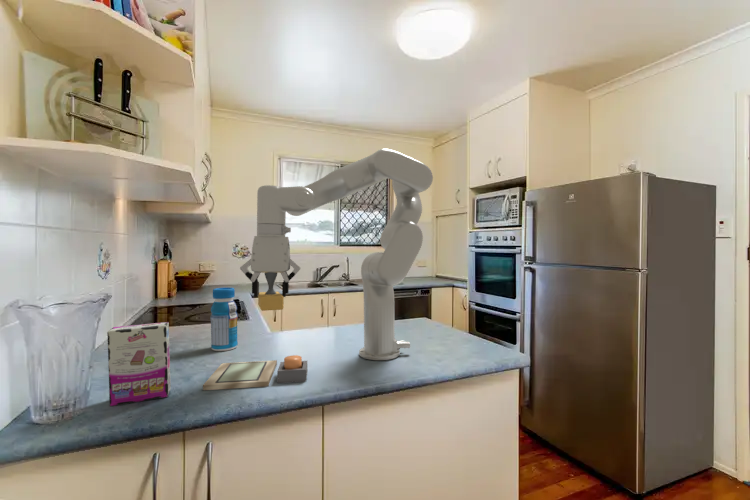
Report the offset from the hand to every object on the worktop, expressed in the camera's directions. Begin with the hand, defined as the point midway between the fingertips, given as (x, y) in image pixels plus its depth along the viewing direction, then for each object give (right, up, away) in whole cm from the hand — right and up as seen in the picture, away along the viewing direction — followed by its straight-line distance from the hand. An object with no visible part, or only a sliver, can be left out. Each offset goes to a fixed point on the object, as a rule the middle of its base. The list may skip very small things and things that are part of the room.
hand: (270, 295), depth 98 cm
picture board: (-6, -21, -5) cm, 22 cm away
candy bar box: (-24, -21, -17) cm, 36 cm away
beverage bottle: (-22, -21, +21) cm, 37 cm away
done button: (+8, -19, -6) cm, 21 cm away
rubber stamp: (0, -3, 0) cm, 3 cm away
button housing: (+8, -20, -6) cm, 22 cm away
